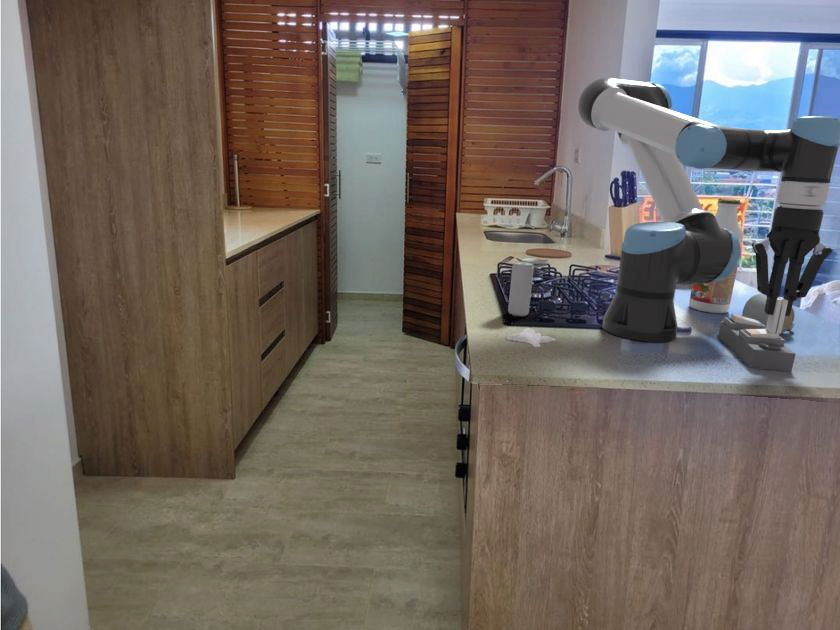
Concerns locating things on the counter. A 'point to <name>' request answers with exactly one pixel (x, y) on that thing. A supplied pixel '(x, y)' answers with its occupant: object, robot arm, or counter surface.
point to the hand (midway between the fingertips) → (773, 331)
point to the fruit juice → (719, 293)
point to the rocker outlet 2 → (761, 333)
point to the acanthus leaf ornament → (530, 337)
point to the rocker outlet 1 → (744, 320)
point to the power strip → (756, 347)
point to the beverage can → (520, 288)
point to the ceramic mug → (756, 311)
